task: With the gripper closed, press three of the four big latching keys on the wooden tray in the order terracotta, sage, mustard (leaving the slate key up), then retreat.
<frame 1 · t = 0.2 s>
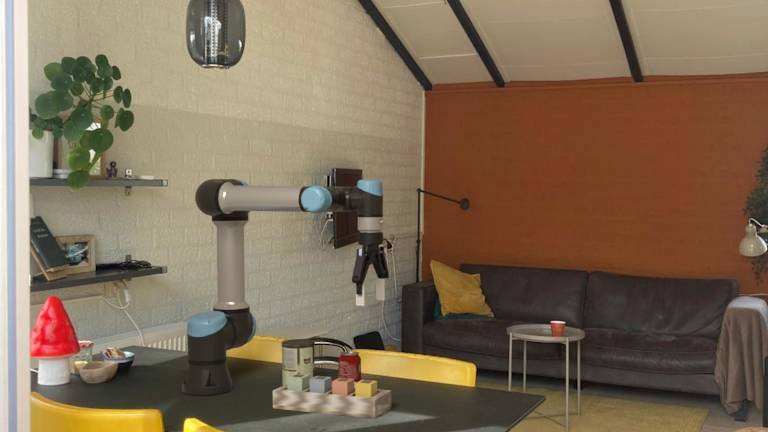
hand: (371, 302, 252), 28 cm above the table, fingers open, 13 cm apart
slate key: (320, 386, 238), point 6 cm above the table, slide at 0.0 cm
terracotta key: (343, 388, 235), point 6 cm above the table, slide at 0.0 cm
mustard key: (366, 390, 233), point 6 cm above the table, slide at 0.0 cm
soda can: (349, 392, 256), on the table
wooden tray: (332, 408, 237), on the table
coffee can: (298, 387, 263), on the table
sage key: (298, 384, 241), point 6 cm above the table, slide at 0.0 cm
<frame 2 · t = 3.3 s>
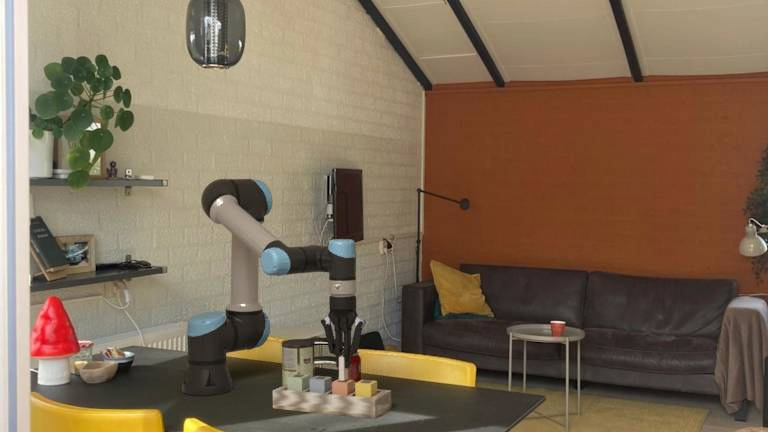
hand: (343, 379, 235), 8 cm above the table, fingers closed
terracotta key: (343, 389, 235), point 6 cm above the table, slide at 0.3 cm, touching gripper
everything else where it was.
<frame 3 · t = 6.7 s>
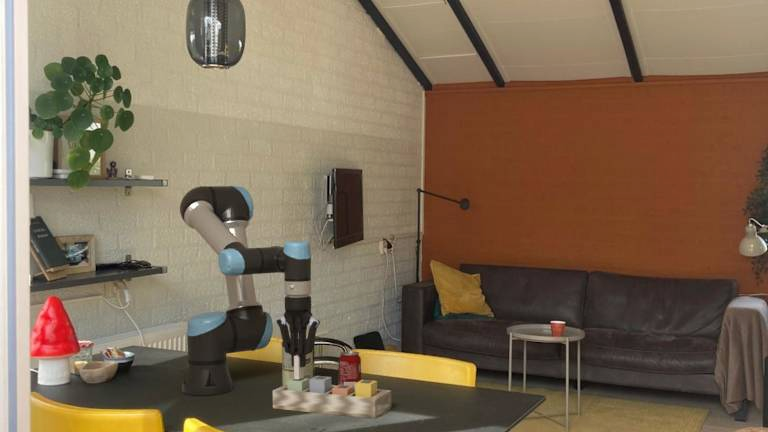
hand: (298, 378, 240), 8 cm above the table, fingers closed
terracotta key: (343, 395, 235), point 4 cm above the table, slide at 2.0 cm
sage key: (298, 388, 241), point 5 cm above the table, slide at 1.0 cm, touching gripper
everything else where it was.
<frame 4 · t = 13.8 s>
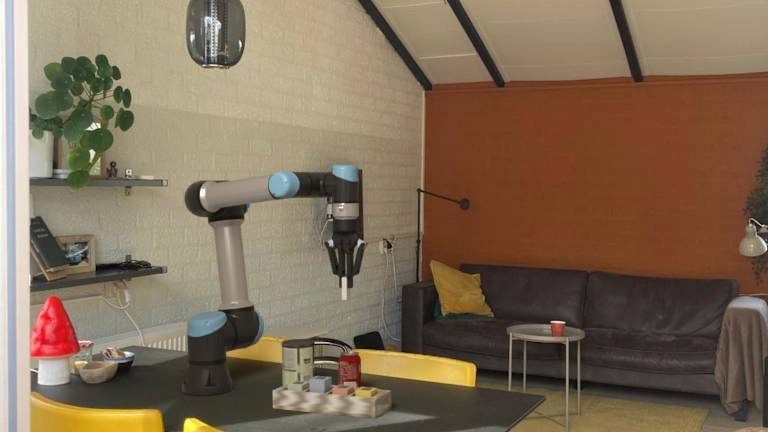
hand: (346, 299, 245), 29 cm above the table, fingers closed
mustard key: (366, 397, 233), point 4 cm above the table, slide at 2.0 cm
sage key: (298, 391, 241), point 4 cm above the table, slide at 2.0 cm
everything else where it was.
at the end: terracotta key slide at 2.0 cm; sage key slide at 2.0 cm; mustard key slide at 2.0 cm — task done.
